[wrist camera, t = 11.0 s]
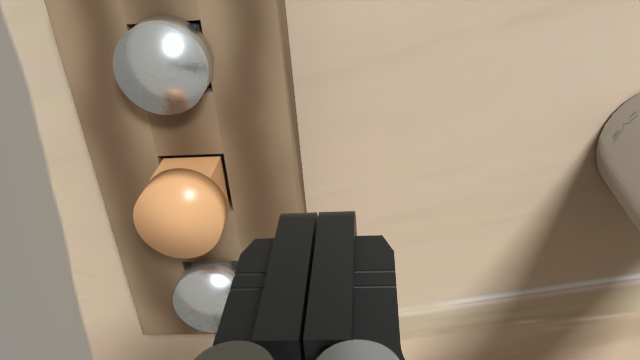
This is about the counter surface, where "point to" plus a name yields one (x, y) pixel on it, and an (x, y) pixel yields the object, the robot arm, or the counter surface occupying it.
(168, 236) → the knob mid
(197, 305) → the knob
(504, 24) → the counter surface
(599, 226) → the counter surface
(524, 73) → the counter surface
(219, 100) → the knob mount
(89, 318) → the counter surface
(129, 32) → the knob
